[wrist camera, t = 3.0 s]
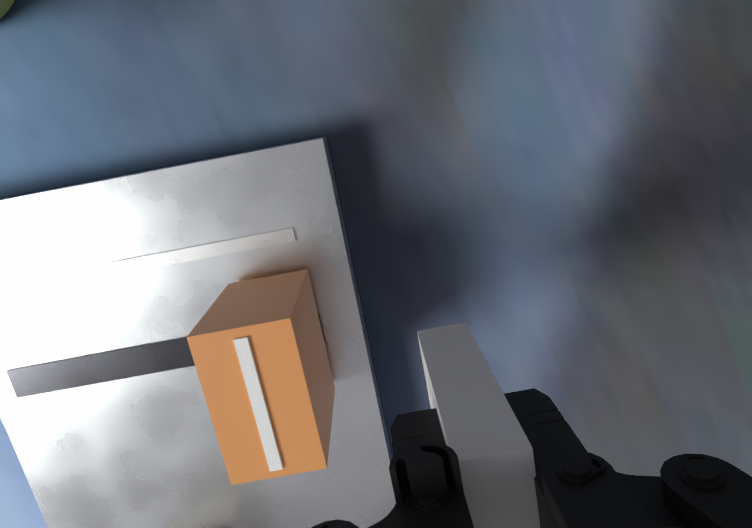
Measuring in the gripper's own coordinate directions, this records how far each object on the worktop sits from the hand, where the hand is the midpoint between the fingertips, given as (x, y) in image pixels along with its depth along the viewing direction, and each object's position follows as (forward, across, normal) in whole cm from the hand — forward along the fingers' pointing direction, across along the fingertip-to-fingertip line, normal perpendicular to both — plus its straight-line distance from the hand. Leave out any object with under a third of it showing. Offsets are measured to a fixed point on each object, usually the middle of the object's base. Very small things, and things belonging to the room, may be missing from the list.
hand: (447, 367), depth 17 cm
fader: (+4, -6, 0) cm, 7 cm away
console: (+7, -10, -5) cm, 13 cm away
